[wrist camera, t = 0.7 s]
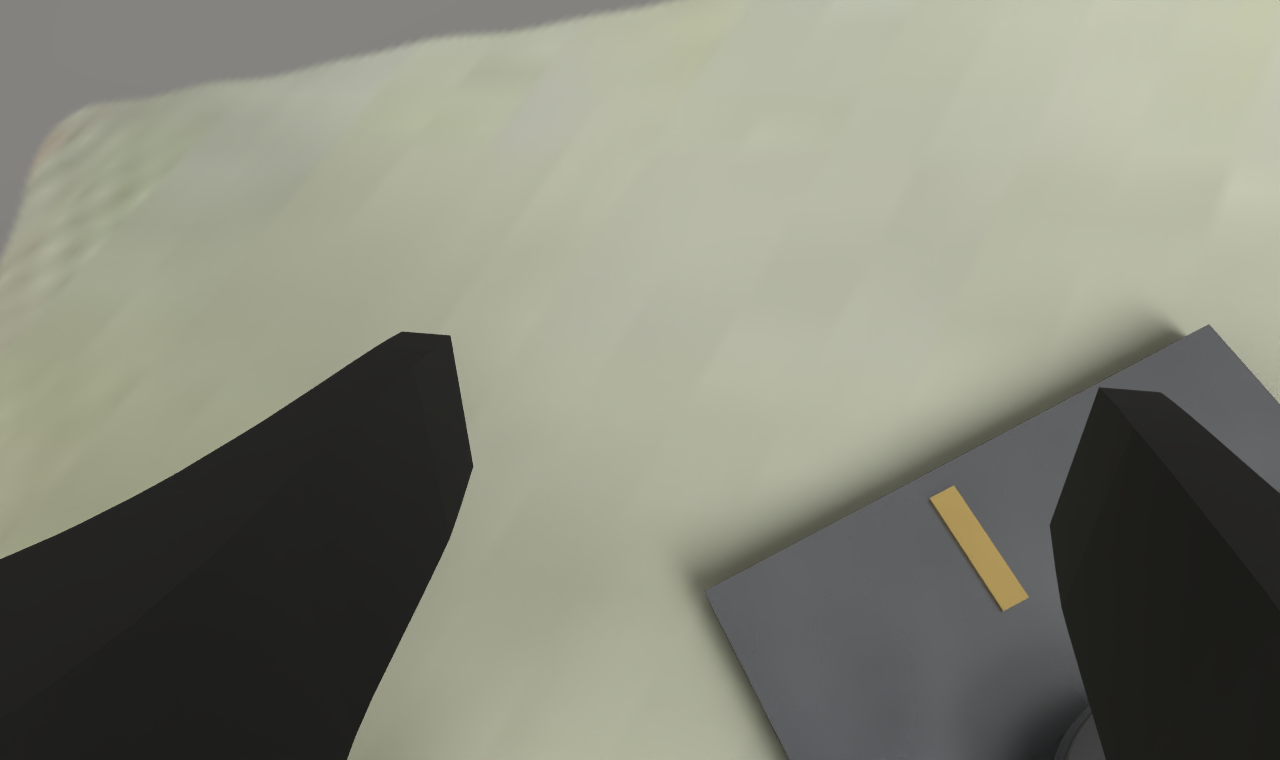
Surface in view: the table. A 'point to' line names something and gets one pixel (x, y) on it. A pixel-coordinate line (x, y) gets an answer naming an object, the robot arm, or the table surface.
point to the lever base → (957, 588)
